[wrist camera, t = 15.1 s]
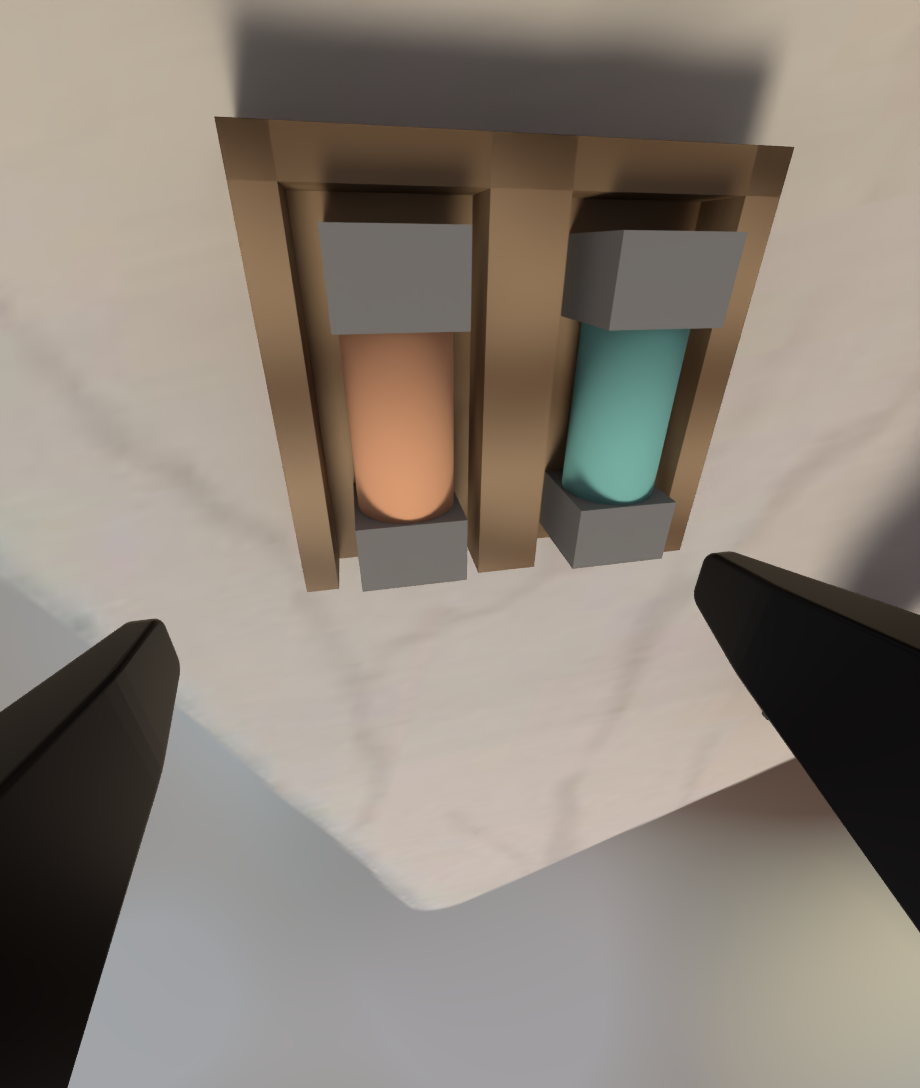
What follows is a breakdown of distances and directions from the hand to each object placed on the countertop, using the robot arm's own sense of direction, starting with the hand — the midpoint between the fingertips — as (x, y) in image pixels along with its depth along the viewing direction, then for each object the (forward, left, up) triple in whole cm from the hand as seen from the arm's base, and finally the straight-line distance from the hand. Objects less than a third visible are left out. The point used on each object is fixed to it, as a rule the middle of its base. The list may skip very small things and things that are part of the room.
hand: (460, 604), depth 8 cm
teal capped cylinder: (0, -8, -12) cm, 14 cm away
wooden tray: (+1, -4, -12) cm, 13 cm away
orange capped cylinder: (0, 0, -12) cm, 12 cm away
